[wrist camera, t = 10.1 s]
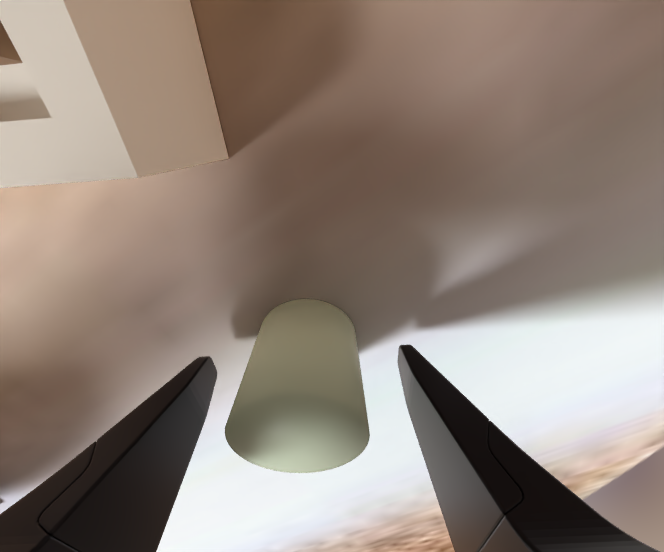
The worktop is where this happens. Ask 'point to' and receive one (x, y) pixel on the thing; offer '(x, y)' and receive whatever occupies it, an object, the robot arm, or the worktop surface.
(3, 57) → the lid
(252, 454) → the knob
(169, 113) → the box base
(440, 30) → the worktop surface
